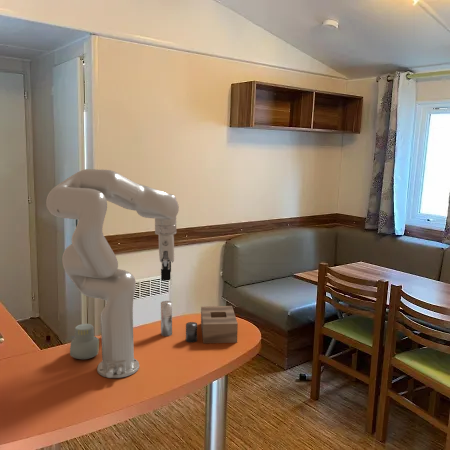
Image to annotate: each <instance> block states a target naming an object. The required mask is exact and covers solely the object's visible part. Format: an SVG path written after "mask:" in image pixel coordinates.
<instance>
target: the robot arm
mask: <svg viewBox="0 0 450 450" xmlns="http://www.w3.org/2000/svg"><path fill="white" fill-rule="evenodd" d="M45 202H46V203H45V204H46V205H45V206H46V208H47V210H48V212H49V213H50V215H52V216H54V217H56V218H58V219H59V218H61V219H67V220H68V219H69V220H78V221H77V225H76V226H75V229H74V232H73V233H72V236H71V244H69V245H68V246H67V247H66V248H65V249H64V251H63V254H62V257H61V258H62V259H61V260H62V267H63V270H64V271H65V272H64V273H66V275H67V276H68V278H69V279H70V280H71V282H72V283H73V285H75V287H76V288H77V290H78V291H79V292H80V293H81V294H82V295H83V296H86V297H88V298H92V299H99V300H103V301H106V304H105V305H104V307H103V309H102V310H101V313H100V333H101V335H100V337H101V361H100V362H99V363H98V365H97V369H96V370H97V374H99V375H100V376H102V377H104V378H108V379H121V378H126V377H129V376H131V375H133V374H135V373H136V372H138V370H139V369H140V363H139V360H137V359H136V358H135V355H134V354H135V353H134V352H135V351H134V350H135V349H134V346H135V345H134V298H135V293H136V286H137V285H136V284H137V282H136V278H135V276H134V275H133V274H132V273H131V272H129V271H126V270H124V269H119V262H118V259H117V255H116V254H115V252H114V251H113V249H112V248H111V245H110V243H109V242H108V240H107V238H106V237H105V235H104V232H103V226H104V222H105V218H106V214H107V211H108V202H109V203H111V204H114V205H116V206H119V207H121V208H123V209H126V210H130V211H135V212H136V214H138V216H140V217H142V218H145V219H154V234H155V235H158V253H159V254H158V256H159V262H160V263H161V268H160V277H161V278H160V280H161V281H171V273H172V263H174V261H175V235H176V234H177V215H178V214H179V211H180V210H179V207H180V206H179V204H178V201H177V198H176V195H175V194H171V193H168V192H164V191H162V190H159V189H157V188H153V187H149V186H146V185H144V184H141V183H137V182H135V181H134V180H131V179H129V178H127V177H126V176H124V175H122V174H121V173H119V172H116V171H114V170H111V169H97V168H96V169H95V168H86V169H82V170H79V171H77V172H75V173H74V174H72V175H71V176H69V177H68V178H66V179H64V180H63V181H61V182H60V183H59V184H57V185H55V186H54V187H53V188H51V190H50V191H49V192H48V194H47V197H46V201H45Z"/></svg>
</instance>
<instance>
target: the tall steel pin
mask: <svg viewBox="0 0 450 450" xmlns="http://www.w3.org/2000/svg"><path fill="white" fill-rule="evenodd" d="M160 335H161V336H162V337H170V336H172V335H173V302H172V301H171V300H163V301H161V302H160Z"/></svg>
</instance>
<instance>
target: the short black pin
mask: <svg viewBox="0 0 450 450" xmlns="http://www.w3.org/2000/svg"><path fill="white" fill-rule="evenodd" d="M185 341H186V342H187V343H190V344H191V343H196V342H197V341H198V323H197V322H196V321H195V322H194V321H190V322H187V323H185Z"/></svg>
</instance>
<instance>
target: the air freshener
mask: <svg viewBox="0 0 450 450" xmlns="http://www.w3.org/2000/svg"><path fill="white" fill-rule="evenodd" d="M94 327H95V326H94V325H93V324H91V323H81V324H78V325H76V326H75V327H74V338H72V340H71V341H70V347H69V354H70V357H72V358H73V359H77V360H88V359H92V358H94V357H96V356H97V355H99V351H100V350H99V348H100V339H99V338H98V337H97V336H95V333H94V332H95V330H94V329H95V328H94Z"/></svg>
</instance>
